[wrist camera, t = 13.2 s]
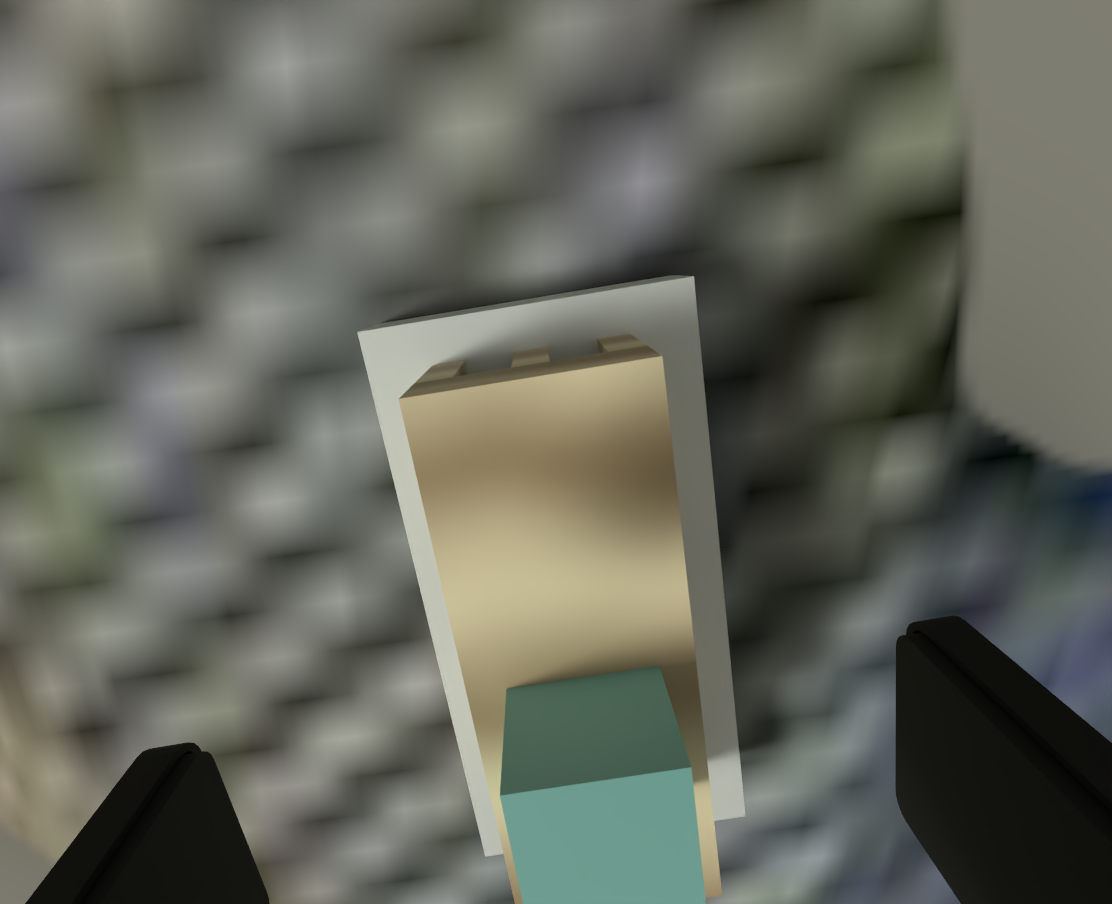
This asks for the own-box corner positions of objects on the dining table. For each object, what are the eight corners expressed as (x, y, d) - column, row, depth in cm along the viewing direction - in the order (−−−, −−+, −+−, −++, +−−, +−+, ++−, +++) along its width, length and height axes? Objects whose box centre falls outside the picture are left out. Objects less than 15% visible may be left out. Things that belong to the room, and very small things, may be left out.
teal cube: (506, 688, 17) (499, 796, 13) (659, 665, 17) (691, 767, 13) (531, 811, 18) (530, 937, 14) (674, 790, 18) (707, 912, 14)
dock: (380, 323, 22) (357, 331, 19) (672, 274, 22) (693, 276, 19) (490, 794, 27) (485, 856, 24) (722, 757, 27) (745, 816, 24)
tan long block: (431, 365, 19) (398, 399, 14) (630, 333, 19) (662, 355, 14) (522, 792, 24) (520, 926, 19) (683, 767, 24) (722, 895, 19)
